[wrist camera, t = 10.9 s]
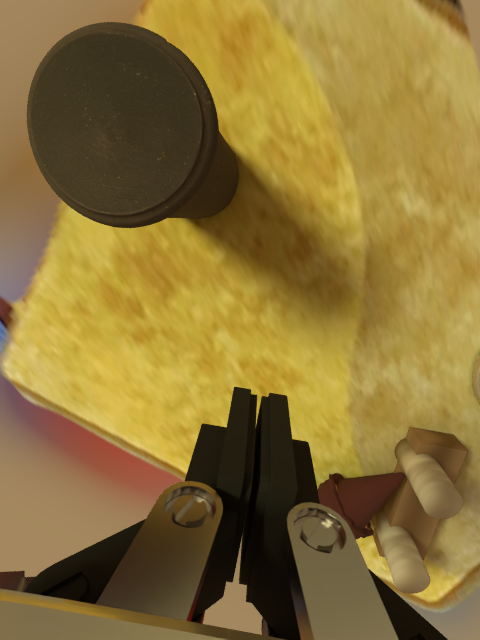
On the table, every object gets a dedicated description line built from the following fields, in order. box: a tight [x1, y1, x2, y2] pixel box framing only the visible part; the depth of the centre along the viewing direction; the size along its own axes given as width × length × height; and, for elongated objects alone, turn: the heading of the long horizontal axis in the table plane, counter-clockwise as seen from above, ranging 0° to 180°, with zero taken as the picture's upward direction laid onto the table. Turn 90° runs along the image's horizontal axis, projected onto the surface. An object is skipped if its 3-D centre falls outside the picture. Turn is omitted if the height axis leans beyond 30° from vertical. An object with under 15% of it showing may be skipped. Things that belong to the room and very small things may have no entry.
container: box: [27, 22, 238, 228], centre depth 25 cm, size 9×9×20 cm
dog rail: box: [372, 427, 468, 594], centre depth 39 cm, size 6×16×8 cm, turn 171°
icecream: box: [318, 472, 405, 539], centre depth 41 cm, size 7×7×15 cm
